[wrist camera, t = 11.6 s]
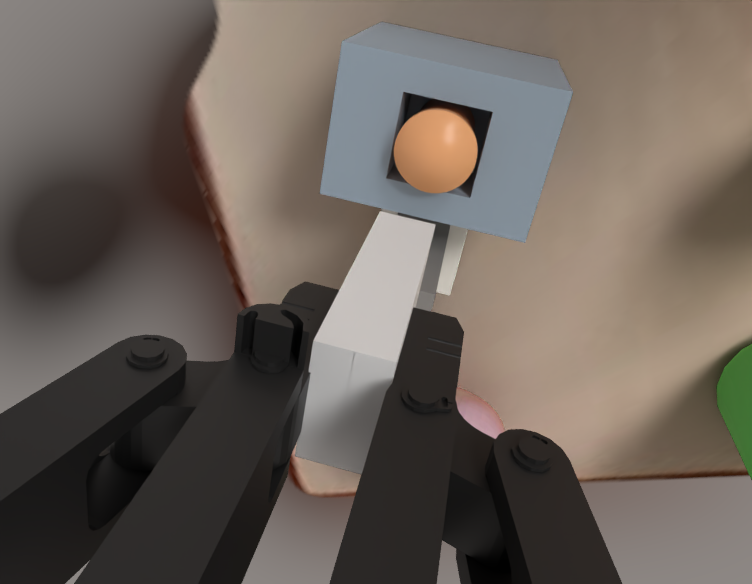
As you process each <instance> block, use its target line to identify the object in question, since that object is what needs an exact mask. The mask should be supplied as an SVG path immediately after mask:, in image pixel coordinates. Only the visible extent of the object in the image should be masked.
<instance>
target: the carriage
mask: <svg viewBox="0 0 752 584" xmlns="http://www.w3.org/2000/svg"><path fill="white" fill-rule="evenodd" d="M381 212H385V213H390V214H394V215H398V216H402V217H406V218H410V219H415V220H419V221H423V222H427V223H431V224H435V225H436V226H435V230H434V234H433V238H432V242H431V246H430V250H429V254H428V258H427V262H426V267H425V271H424V275H423V279H422V283H421V287H420V291H419V295H418V299H417V303H416V308H419V309H423V310H427V311H431V310H432V306H433V303H434V299H435V295H436V292H437V293H441V294H445V295H449V296H450V293H451V289H452V286H453V283H454V280H455V276H456V272H457V269H458V265H459V261H460V258H461V254H462V250H463V246H464V243H465V239H466V235H467V232H468V229H465V228H461V227H457V226H453V225H449V224H444V223H440V222H436V221H432V220H428V219H424V218H419V217H415V216H411V215H407V214H403V213H398V212H394V211H390V210H386V209H381Z"/></svg>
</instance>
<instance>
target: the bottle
mask: <svg viewBox="0 0 752 584" xmlns="http://www.w3.org/2000/svg"><path fill="white" fill-rule="evenodd" d="M717 406H718V408H719V411H720V413H721V415H722V417H723V419H724V421H725V423H726V426H727V428H728V430H729V432H730V434H731V436H732V439H733V441H734V443H735V445H736V447H737V449H738V452H739V454H740V456H741V458H742V460H743V462H744V465H745V467H746V469H747V471H748V473H749V475H750V477H751V480H752V344H751V345H749V346H747V347H745V348H743V349H742V350H741V351H740V352H739V353H738V354H737V355H736V356H735V357H734V358H733V359H732V360H731V361H730V362H729V363H728V364H727V365H726V366H725V367H724V370H723V372H722V375H721V377H720V379H719V382H718V384H717Z"/></svg>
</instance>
